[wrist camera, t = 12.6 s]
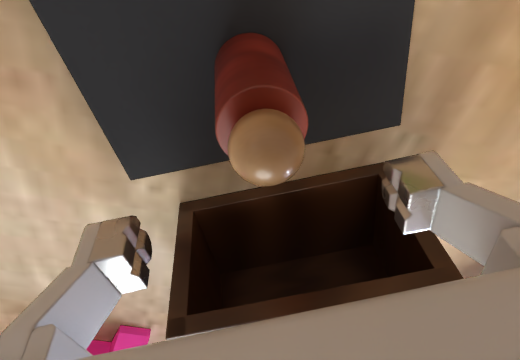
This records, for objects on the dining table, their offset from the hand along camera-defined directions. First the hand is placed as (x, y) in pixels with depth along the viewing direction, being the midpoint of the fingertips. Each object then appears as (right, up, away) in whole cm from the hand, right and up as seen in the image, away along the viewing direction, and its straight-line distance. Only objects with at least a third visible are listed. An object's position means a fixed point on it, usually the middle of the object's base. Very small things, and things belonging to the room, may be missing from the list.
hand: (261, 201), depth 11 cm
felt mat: (-1, +8, +10) cm, 12 cm away
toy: (-1, +7, +9) cm, 12 cm away
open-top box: (+3, -3, +19) cm, 20 cm away
